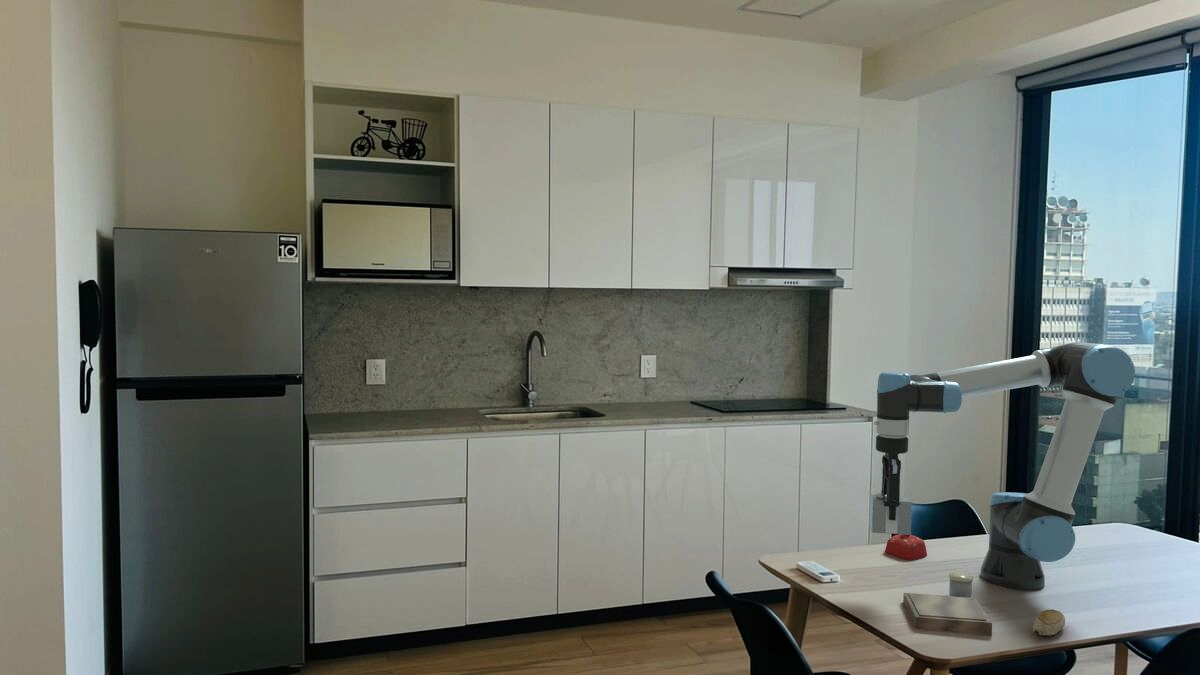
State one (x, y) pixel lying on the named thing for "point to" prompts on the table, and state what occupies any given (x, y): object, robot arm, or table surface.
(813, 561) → the table surface
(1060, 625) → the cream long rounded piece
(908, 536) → the butter dish
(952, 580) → the slate ceramic salt pot
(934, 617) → the walnut riser
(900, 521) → the grey knobbed box
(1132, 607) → the table surface
